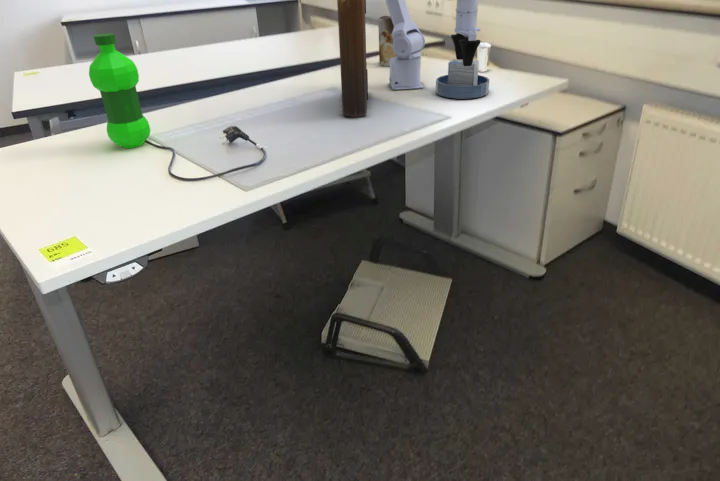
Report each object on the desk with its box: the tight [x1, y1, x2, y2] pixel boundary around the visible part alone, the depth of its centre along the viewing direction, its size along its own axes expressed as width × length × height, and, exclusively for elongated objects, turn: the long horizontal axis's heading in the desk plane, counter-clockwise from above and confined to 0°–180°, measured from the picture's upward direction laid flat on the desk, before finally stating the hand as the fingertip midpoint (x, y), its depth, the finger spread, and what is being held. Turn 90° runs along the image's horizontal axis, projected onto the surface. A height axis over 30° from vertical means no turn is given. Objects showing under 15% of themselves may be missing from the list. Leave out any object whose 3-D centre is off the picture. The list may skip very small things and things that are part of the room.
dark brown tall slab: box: [336, 0, 369, 117], centre depth 143 cm, size 23×7×30 cm, turn 179°
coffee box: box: [377, 15, 397, 67], centre depth 189 cm, size 9×6×16 cm
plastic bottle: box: [88, 32, 151, 149], centre depth 123 cm, size 10×10×25 cm
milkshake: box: [476, 39, 495, 73], centre depth 178 cm, size 4×5×10 cm
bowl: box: [435, 74, 490, 100], centre depth 157 cm, size 15×15×4 cm
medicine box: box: [447, 58, 479, 86], centre depth 156 cm, size 8×4×9 cm, turn 65°
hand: (463, 62), depth 154 cm, fingers open, 7 cm apart
